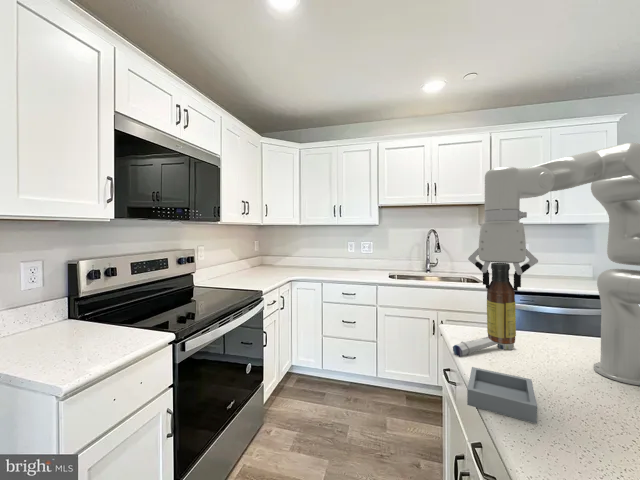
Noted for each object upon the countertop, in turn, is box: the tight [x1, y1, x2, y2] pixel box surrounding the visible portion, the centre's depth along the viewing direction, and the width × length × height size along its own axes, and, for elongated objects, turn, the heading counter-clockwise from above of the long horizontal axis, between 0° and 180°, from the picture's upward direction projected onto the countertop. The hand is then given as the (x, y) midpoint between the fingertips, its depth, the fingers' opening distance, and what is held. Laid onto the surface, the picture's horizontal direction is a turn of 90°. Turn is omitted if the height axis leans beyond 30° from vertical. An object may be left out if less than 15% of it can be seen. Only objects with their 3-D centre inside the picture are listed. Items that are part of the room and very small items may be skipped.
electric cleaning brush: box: [452, 336, 515, 357], centre depth 105 cm, size 5×7×25 cm
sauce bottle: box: [486, 262, 517, 344], centre depth 74 cm, size 6×6×20 cm
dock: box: [466, 366, 538, 425], centre depth 75 cm, size 14×14×4 cm
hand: (501, 288), depth 74 cm, fingers closed on sauce bottle, 5 cm apart
